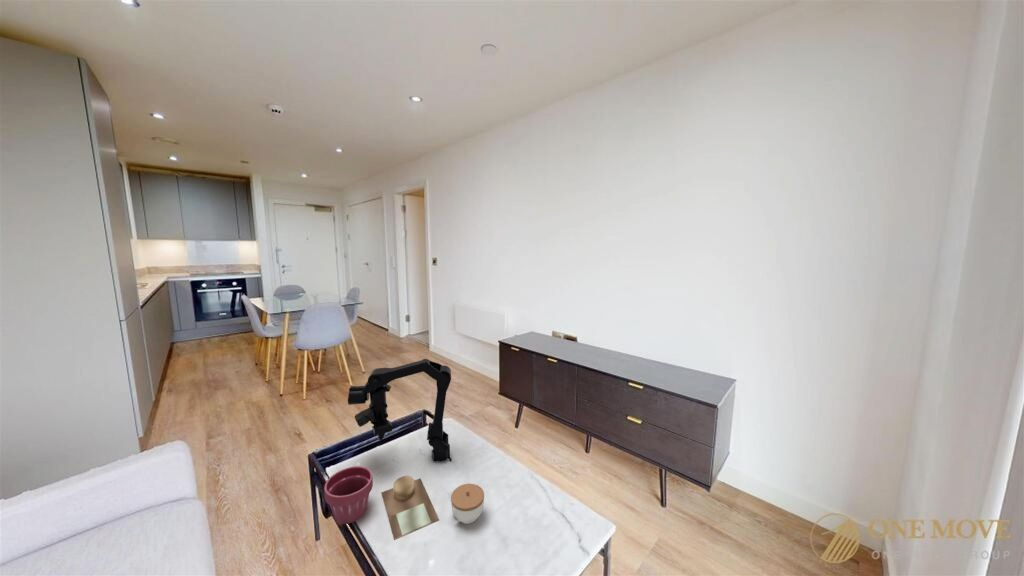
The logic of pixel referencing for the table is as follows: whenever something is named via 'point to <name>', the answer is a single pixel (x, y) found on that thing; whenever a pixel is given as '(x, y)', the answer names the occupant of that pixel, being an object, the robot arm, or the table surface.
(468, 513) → the lidded jar
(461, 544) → the table surface
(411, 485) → the oak puck
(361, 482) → the plant pot
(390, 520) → the walnut board
